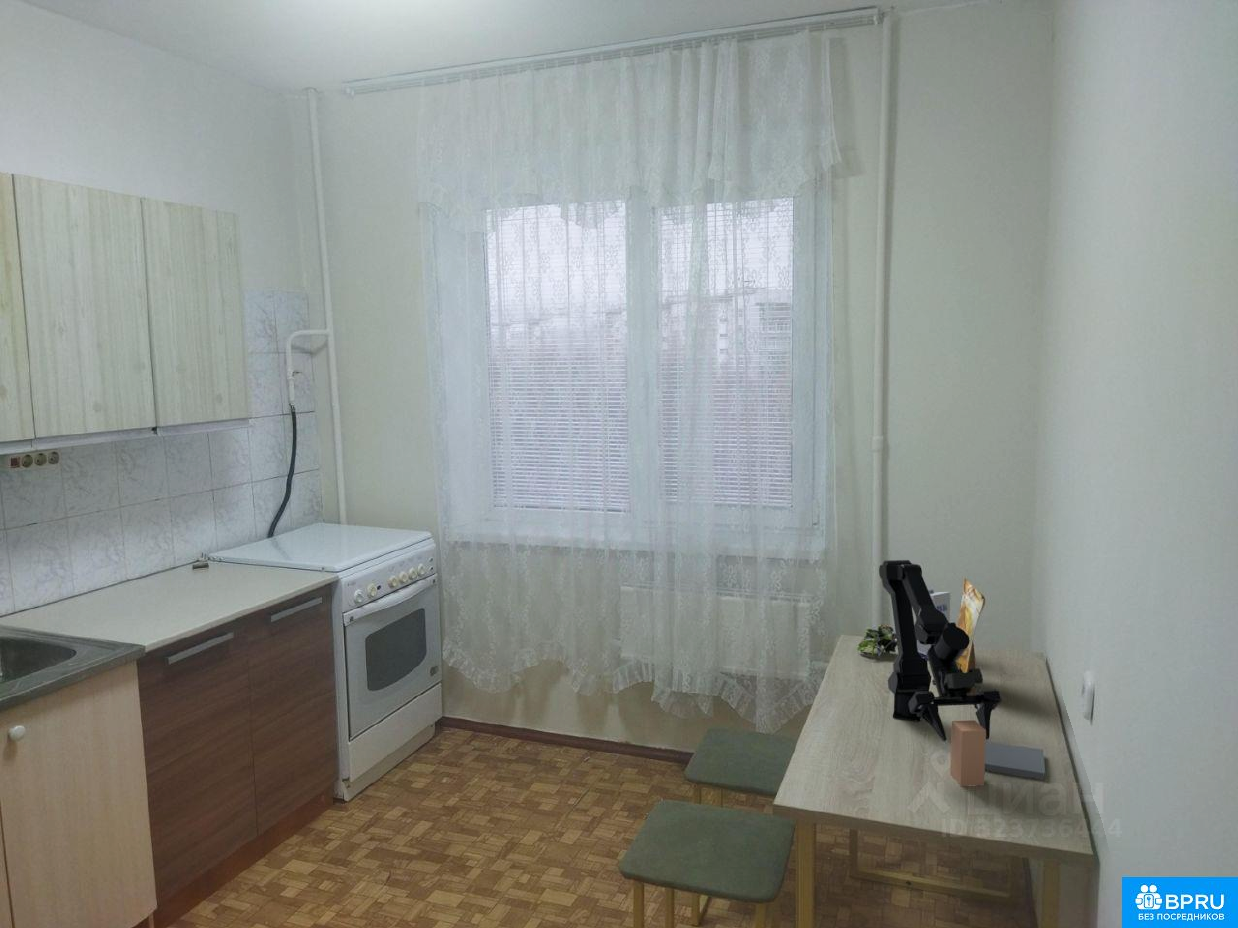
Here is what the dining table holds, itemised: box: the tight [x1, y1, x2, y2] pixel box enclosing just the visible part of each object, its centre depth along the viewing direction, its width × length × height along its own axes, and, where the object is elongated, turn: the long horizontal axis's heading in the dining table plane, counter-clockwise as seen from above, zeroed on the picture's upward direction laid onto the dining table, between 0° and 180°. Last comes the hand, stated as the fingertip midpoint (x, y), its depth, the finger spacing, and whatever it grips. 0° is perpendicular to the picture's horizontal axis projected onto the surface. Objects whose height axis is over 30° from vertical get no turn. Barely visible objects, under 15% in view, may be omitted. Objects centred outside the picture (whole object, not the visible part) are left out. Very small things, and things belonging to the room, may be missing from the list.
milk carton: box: [916, 589, 951, 659], centre depth 257 cm, size 7×7×20 cm
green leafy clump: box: [857, 624, 897, 661], centre depth 258 cm, size 11×11×12 cm
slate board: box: [985, 740, 1046, 781], centre depth 189 cm, size 12×12×2 cm
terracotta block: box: [949, 720, 987, 787], centre depth 181 cm, size 5×5×12 cm
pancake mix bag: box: [956, 577, 986, 696], centre depth 232 cm, size 7×19×28 cm, turn 165°
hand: (966, 739), depth 182 cm, fingers open, 9 cm apart
